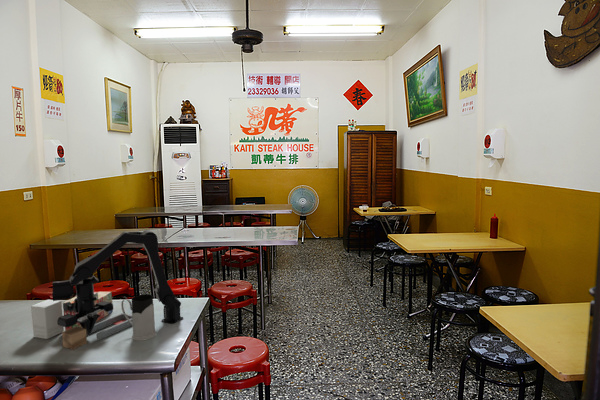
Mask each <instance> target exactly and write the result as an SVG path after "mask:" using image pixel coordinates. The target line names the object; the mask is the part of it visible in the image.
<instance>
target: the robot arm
mask: <svg viewBox="0 0 600 400" xmlns="http://www.w3.org/2000/svg"><path fill="white" fill-rule="evenodd" d="M128 243H131V244H139V245H142V246H143V248H144V250H145V251H146V254H147V255H148V259H149V262H150V265H151V268H152V272H153V275H154V277H155V281H156V284H157V285H156V288H153V290H154V292H155V297H156V299H157V301H158V302H159V303H161V304H162V305H163V319H161V322H162V323H163V322H164V323H168V324H172V325H173V324H175V323H177V322H178V321H180V320H183V319H184V316H181V305H182V302H181V301H180V300H179V299H178V297H177V296H176V295H175V293H174V291H173V289H172V288H171V286H170V285H169V283H168V279H167V276H166V274H165V271H164V267H163V264H162V263H163V262H162V260H161V257H160V254H159V240H158V236H157V234H156V233H155V232H153V231H152V230H149V229H145V230H143V231H126V230H125V231H122V232H120V233H119V235H118V236H116V237H115V238H114V239H113V240H111V241H110V242H108V244H106V245H105V246H103V247H102V248H101V249H100V250H98V251H96V252H95V254H93V255H91V256H89V257H86V258H84V259H82V260H80V261H79V262H77V264H75V265H74V271H73V273H72V274H71V275H70V277H69V279H66V280H61V281H57V280H55V281H52V291H51V292H52V293H51V295H52V300H53V301H62V300H69V299H72V298H73V296H74V295H75V293H76V295H75V297H76V296H77V298H76V299H75V300H74V303H70V302H67V303H64V302H63V303H64V304H63V303H62V310H63V312H64V311H65V312H66V311H69V313H70V312H72V311H74V312H75V313H77V312H78V314H76V315H71V314H66V315H64V314H63V315H62V316H61V317H59V318H58V320H57V323H58V325H60V326H63V327H64V328H65V327H70V326H73V325H75V324H76V323H77V322H78V323H80V325H81V326H82V328H84V329H86V336H90V335H92V333H91V332H92V329H93V327H94V325H95V324H97V322H98V321H97V319H98V318H99V317H100V315H98V311H101V310H103V309H104V311H106V312H108V311H111V310H113V311H114V303H113V302H112V303H111V302H106V301H102V302H100V303H97V304H96V305H95V301H94V300H97V299H96V297H94V292H95V289H94V284H98V283H99V282H100V280H99V278H98V277H96V276H95V275H94V273H95V272H96V271H97V270H98V269H99V267H100V266H101V265H102V264H103V263H104V262H105V261H107V260H108V259H109V258H110V257H112V255H114V254H115V253H116V252H118V251H119V250H120V249H121V248H122V247H124V246H125V245H126V244H128ZM74 287H75V288H74ZM75 291H76V292H75ZM96 321H97V322H96Z"/></svg>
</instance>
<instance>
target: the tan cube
mask: <svg viewBox="0 0 600 400" xmlns="http://www.w3.org/2000/svg"><path fill="white" fill-rule="evenodd" d="M87 336H88V335H86V329H84V328H81V327H77V326H76V327H74V328H71V329H69V330H66V331H65V330H64V331H63V332H61V337H62V347H63V348H66V349H70V350H72V351H73V350H75V349H77V348H79V347H81V346H84V345H86V344H88V340H87V339H88V338H87Z"/></svg>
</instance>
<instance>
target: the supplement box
mask: <svg viewBox="0 0 600 400" xmlns="http://www.w3.org/2000/svg"><path fill="white" fill-rule="evenodd" d="M30 309H31V310H30V311H31V320H32V321H31V322H32V330H33V338H38V339H45V340H48V339H51V338H52V337H55V336H57V335H59V334H62V332H64V331H65V329H64V328H65V327H63V326H60V325H58V323H57V320H58V318H59V317H61V316H63V303H62V300H57V301H53V299H45V300H43V301H40V302H38V303H36V304H31V305H30Z"/></svg>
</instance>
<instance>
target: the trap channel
mask: <svg viewBox="0 0 600 400" xmlns="http://www.w3.org/2000/svg"><path fill="white" fill-rule="evenodd" d="M125 314H126V316H127V317H128V318H129V320H130V321H131V322H132V314H129V313H126V312H125ZM108 326H111V327H108ZM132 326H133V325H132V324H131V323H130V322H129V321H128V320H127V319H126V318H125V316H124V314H123V312H122V313H119V314H116V315H114V316H112V317H109V318H107V319H104V320H102V321H100V322H96V323H95V325H94V327H93V329H92V332H91V334H92V333H95V332H97V331H99V330H101V331H99V332H97V333H95V334H96V341H100V340H103V339H105V338H106V337H109V336H111V335H114V334H116V333H118V332H120V331H122V330H124V329H126V328H127V329H128V328H129V327H132ZM106 327H108V328H106ZM104 328H105V329H104ZM102 329H103V330H102Z"/></svg>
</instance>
